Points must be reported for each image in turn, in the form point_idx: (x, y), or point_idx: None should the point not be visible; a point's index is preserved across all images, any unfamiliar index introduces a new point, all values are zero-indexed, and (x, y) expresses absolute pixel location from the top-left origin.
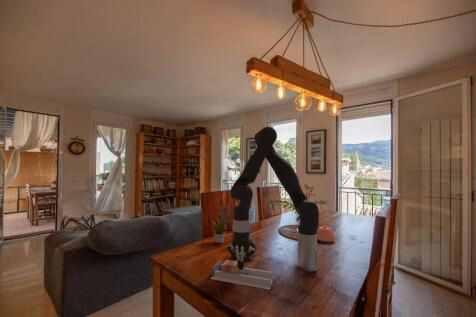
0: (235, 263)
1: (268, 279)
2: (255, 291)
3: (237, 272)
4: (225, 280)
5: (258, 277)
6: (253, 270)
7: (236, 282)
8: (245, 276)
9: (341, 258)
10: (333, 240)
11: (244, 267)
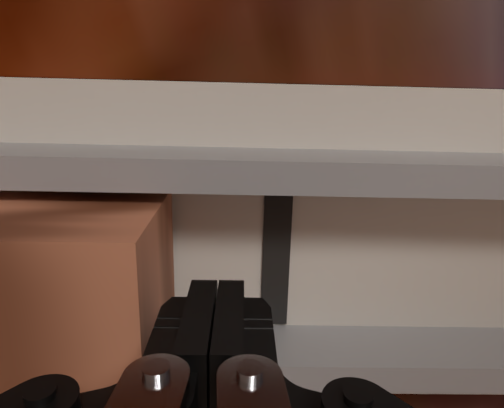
0: (104, 334)
1: None
2: (417, 402)
3: (168, 259)
4: None
5: (482, 372)
6: (389, 194)
7: None
8: (317, 391)
9: None
10: None
11: (236, 159)
